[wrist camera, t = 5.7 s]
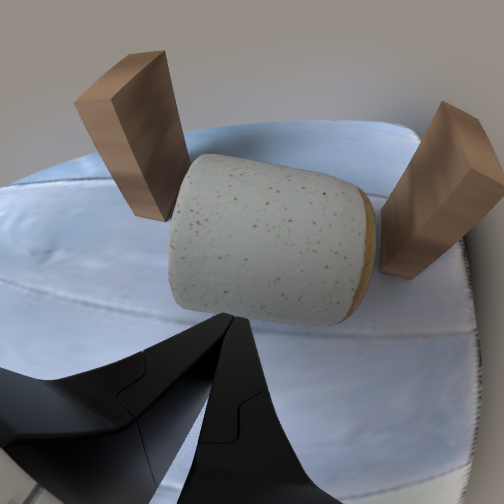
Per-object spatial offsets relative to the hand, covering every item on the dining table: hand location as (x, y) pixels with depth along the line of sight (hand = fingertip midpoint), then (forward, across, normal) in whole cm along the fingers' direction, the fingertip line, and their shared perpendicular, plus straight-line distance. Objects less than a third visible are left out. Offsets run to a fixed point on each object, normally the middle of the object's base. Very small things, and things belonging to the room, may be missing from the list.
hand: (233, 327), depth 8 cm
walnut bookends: (+11, 0, -2) cm, 11 cm away
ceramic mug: (+9, 0, +1) cm, 9 cm away
